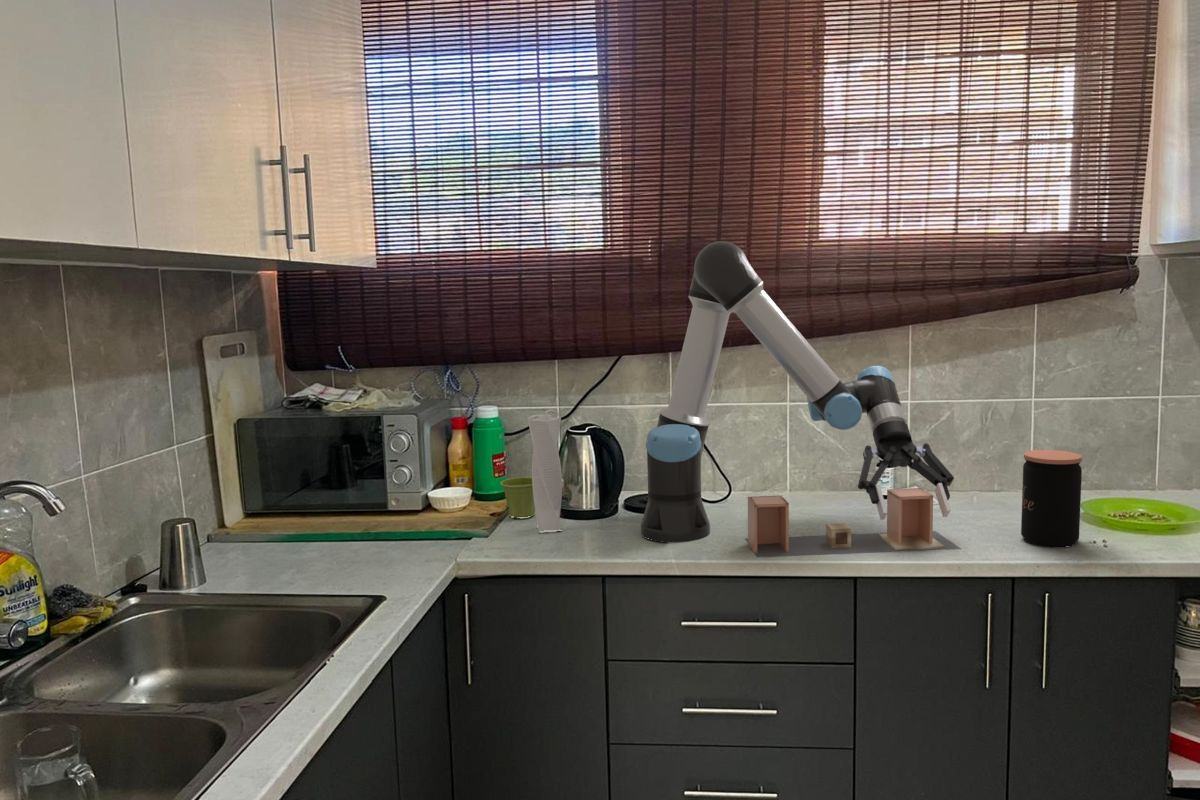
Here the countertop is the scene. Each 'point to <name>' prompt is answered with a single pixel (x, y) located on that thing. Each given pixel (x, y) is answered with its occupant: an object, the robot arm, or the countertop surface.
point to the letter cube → (838, 535)
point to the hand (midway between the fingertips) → (915, 515)
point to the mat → (820, 547)
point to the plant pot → (519, 496)
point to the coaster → (911, 543)
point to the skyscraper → (546, 470)
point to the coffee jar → (1051, 498)
